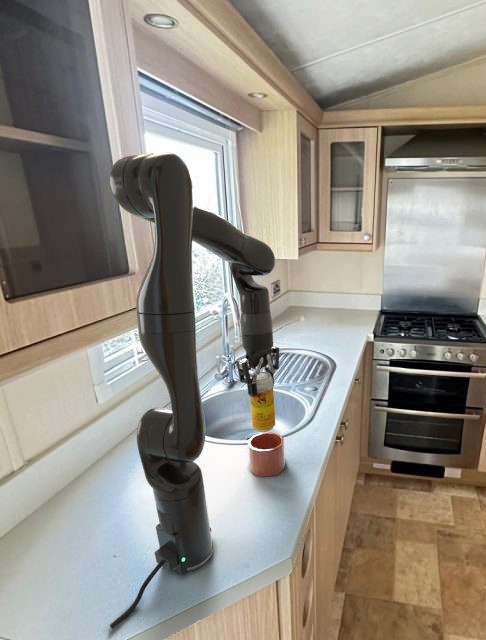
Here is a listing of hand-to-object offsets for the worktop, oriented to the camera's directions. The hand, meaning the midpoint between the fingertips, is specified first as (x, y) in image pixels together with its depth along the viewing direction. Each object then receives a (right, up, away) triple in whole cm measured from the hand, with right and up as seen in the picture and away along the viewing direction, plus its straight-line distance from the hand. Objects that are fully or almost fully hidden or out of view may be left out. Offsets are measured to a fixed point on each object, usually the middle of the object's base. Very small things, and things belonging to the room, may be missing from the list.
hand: (261, 391), depth 105 cm
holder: (+1, -21, +8) cm, 23 cm away
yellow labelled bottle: (0, -10, +4) cm, 11 cm away
